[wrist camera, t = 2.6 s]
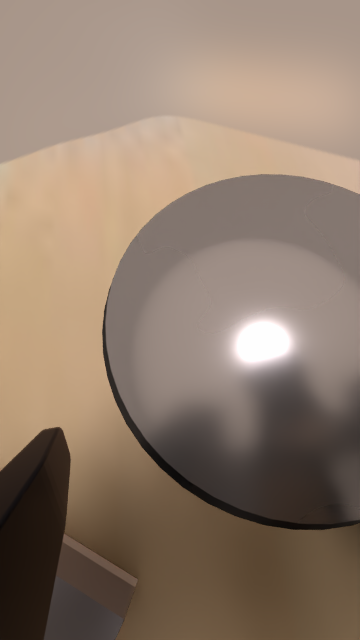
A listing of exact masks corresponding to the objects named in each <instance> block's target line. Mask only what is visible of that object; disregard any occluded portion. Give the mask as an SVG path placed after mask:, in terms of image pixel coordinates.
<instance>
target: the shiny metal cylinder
mask: <svg viewBox="0 0 360 640" xmlns="http://www.w3.org/2000/svg"><path fill="white" fill-rule="evenodd" d="M102 335H103V355H104V361H105V366H106V371H107V377H108V380H109V383H110V386H111V389H112V392H113V395H114V398H115V401H116V403H117V405H118V407H119V409H120V411H121V413H122V416H123V418H124V420H125V422H126V424H127V425H128V427H129V428H130V430H131V431H132V433H133V434H134V436H135V437H136V439H137V440H138V442H139V443H140V445H141V446H142V448H143V449H144V450H145V451H146V452H147V453H148V454H149V455H150V457H151V458H152V459H153V460H154V461H155V462H156V463H157V464H158V466H159V467H160V468H161V469H162V470H164V471H165V472H166V473H167V474H168V475H169V476H170V477H172V478H173V479H174V480H175V481H176V482H177V483H179V484H180V485H181V486H182V487H183V488H185V489H187V490H188V491H190V492H191V493H193V494H194V495H196V496H197V497H199V498H200V499H202V500H203V501H205V502H207V503H208V504H210V505H212V506H215V507H217V508H219V509H221V510H223V511H225V512H227V513H230V514H232V515H234V516H236V517H240V518H243V519H246V520H249V521H253V522H256V523H259V524H262V525H267V526H274V527H280V528H287V529H293V530H325V529H331V528H338V527H345V526H351V525H354V524H358V523H360V194H357V193H355V192H352V191H350V190H347V189H345V188H343V187H340V186H337V185H333V184H330V183H327V182H324V181H320V180H315V179H310V178H305V177H299V176H290V175H269V174H261V175H250V176H241V177H236V178H231V179H226V180H221V181H218V182H215V183H212V184H209V185H205V186H203V187H201V188H198V189H196V190H194V191H192V192H189V193H187V194H185V195H184V196H182V197H180V198H179V199H177V200H175V201H174V202H172V203H170V204H169V205H168V206H166V207H165V208H164V209H163V210H161V211H160V212H159V213H157V214H156V215H155V216H154V217H153V218H152V219H151V220H150V221H149V222H148V223H147V224H146V225H145V226H144V227H143V228H142V229H141V230H140V232H139V233H138V234H137V235H136V237H135V238H134V239H133V241H132V242H131V243H130V245H129V247H128V248H127V250H126V252H125V254H124V255H123V257H122V259H121V261H120V263H119V265H118V268H117V270H116V273H115V275H114V278H113V280H112V284H111V287H110V289H109V293H108V297H107V301H106V305H105V310H104V320H103V330H102Z"/></svg>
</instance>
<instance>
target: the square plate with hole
mask: <svg viewBox="0 0 360 640" xmlns="http://www.w3.org/2000/svg"><path fill="white" fill-rule="evenodd" d="M137 581H138V579H137V578H135V577H133V576H132V575H130V574H128V573H127V572H125V571H124V570H122V569H120V568H119V567H117V566H116V565H114V564H112V563H111V562H109V561H108V560H106V559H104V558H103V557H101V556H99V555H98V554H96V553H95V552H93V551H91V550H90V549H88V548H87V547H85V546H83V545H82V544H80V543H79V542H77V541H75V540H74V539H72V538H70V537H69V536H67V535H66V534H64V536H63V542H62V547H61V552H60V557H59V563H58V568H57V573H56V578H55V584H54V589H53V594H52V599H51V605H50V610H49V615H48V620H47V626H46V631H45V636H44V640H115V639H116V637H117V635H118V632H119V630H120V628H121V626H122V623H123V621H124V619H125V616H126V613H127V610H128V607H129V604H130V601H131V598H132V595H133V593H134V590H135V587H136V584H137Z"/></svg>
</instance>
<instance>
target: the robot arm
mask: <svg viewBox="0 0 360 640" xmlns="http://www.w3.org/2000/svg"><path fill="white" fill-rule="evenodd" d="M70 463H71V459H70V452H69V449H68V446H67V442H66V439H65V436H64V433H63V430H62V429H61V428H60V427H55V428H49V429H44V430H42V431H41V432H40V433H39V434H38V435H37V436H36V437H35V438H34V439H33V440H32V441H31V442H30V443H29V444H28V445H27V446H26V447H25V448H24V449H23V450H22V451H21V452H20V453H19V454H18V455H16V456H15V457H14V458H13V459H12V460H11V461H10V462H9V463H8V464H7V465H6V466H5V467H4V468H3V469H2V470H1V471H0V640H44V636H45V631H46V626H47V620H48V615H49V610H50V605H51V599H52V594H53V589H54V584H55V578H56V573H57V568H58V563H59V557H60V552H61V547H62V542H63V536H64V530H65V524H66V514H67V502H68V489H69V476H70Z"/></svg>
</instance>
